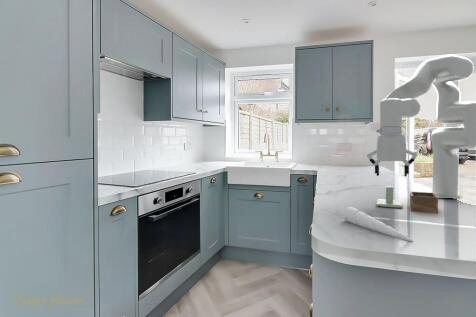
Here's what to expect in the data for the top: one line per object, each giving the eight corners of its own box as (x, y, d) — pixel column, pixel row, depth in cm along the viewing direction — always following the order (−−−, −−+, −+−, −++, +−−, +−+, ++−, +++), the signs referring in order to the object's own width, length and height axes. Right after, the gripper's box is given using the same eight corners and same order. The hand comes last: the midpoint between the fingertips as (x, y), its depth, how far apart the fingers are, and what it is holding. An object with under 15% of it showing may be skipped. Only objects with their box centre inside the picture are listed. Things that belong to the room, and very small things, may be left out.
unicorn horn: (401, 245, 74) (402, 225, 74) (341, 221, 97) (341, 206, 97) (417, 243, 76) (417, 223, 75) (354, 220, 98) (354, 205, 98)
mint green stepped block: (378, 203, 126) (378, 184, 126) (401, 205, 122) (402, 185, 122) (376, 208, 116) (376, 187, 116) (402, 210, 112) (402, 189, 112)
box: (409, 207, 118) (409, 191, 118) (434, 208, 115) (434, 192, 114) (410, 212, 108) (411, 195, 108) (437, 214, 105) (438, 197, 105)
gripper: (365, 132, 119) (366, 176, 120) (417, 130, 111) (417, 177, 112) (367, 132, 125) (368, 174, 127) (416, 130, 117) (416, 174, 119)
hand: (391, 175), depth 119 cm, fingers open, 9 cm apart
